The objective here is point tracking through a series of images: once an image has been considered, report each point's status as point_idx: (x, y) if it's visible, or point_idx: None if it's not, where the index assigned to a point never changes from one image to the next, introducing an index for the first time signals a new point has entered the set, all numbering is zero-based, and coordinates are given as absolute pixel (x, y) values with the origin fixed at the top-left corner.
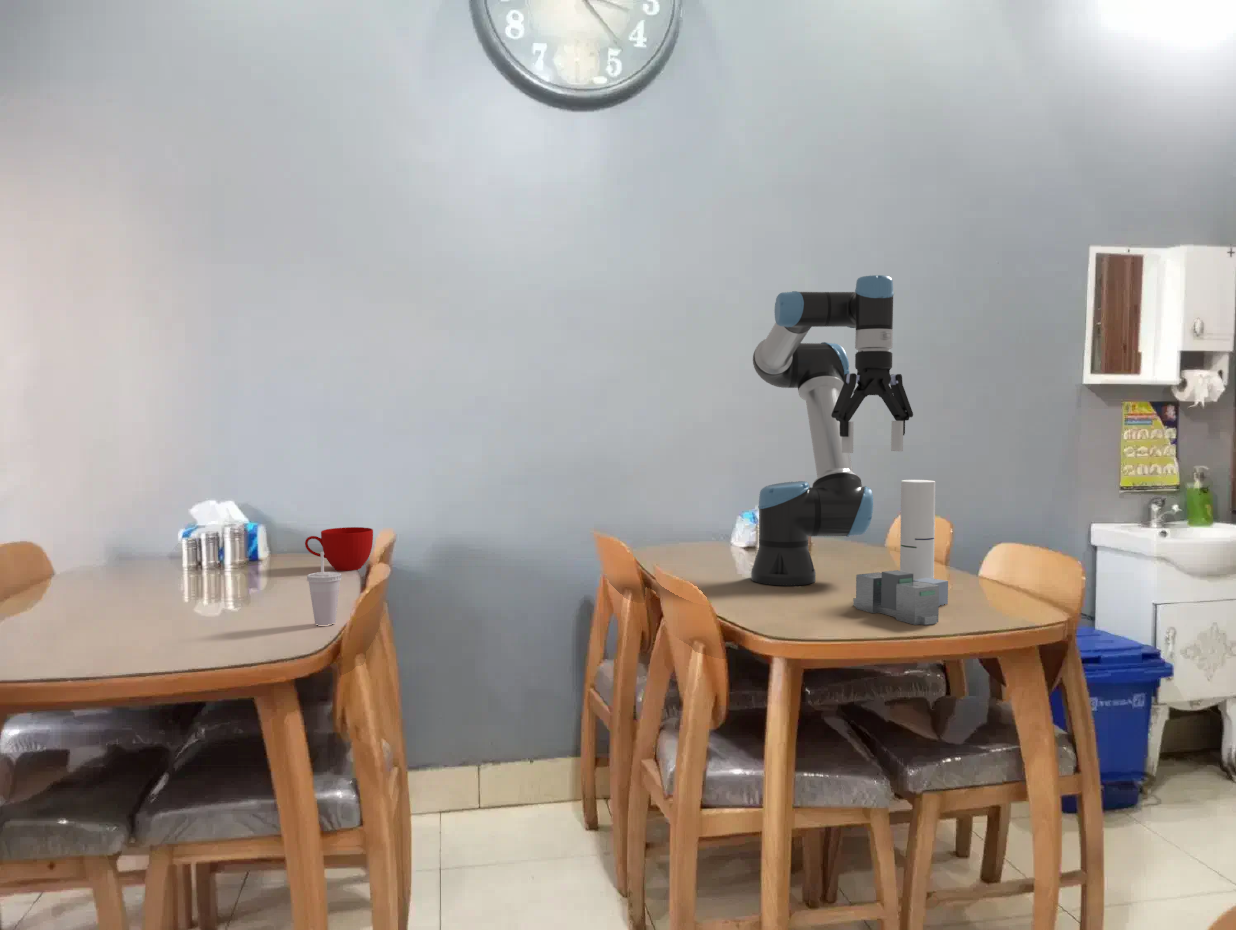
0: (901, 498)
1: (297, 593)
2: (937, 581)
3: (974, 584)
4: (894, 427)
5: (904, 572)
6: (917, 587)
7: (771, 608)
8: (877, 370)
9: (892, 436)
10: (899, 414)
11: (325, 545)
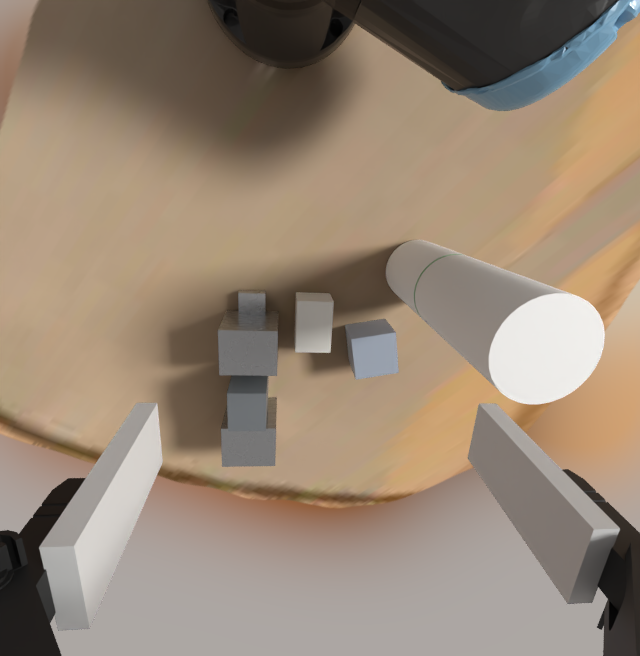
0: (473, 303)
1: None
2: (378, 367)
3: (577, 259)
4: (551, 514)
5: (260, 416)
6: (231, 462)
7: (81, 231)
8: None
9: (518, 458)
10: (606, 647)
11: None
